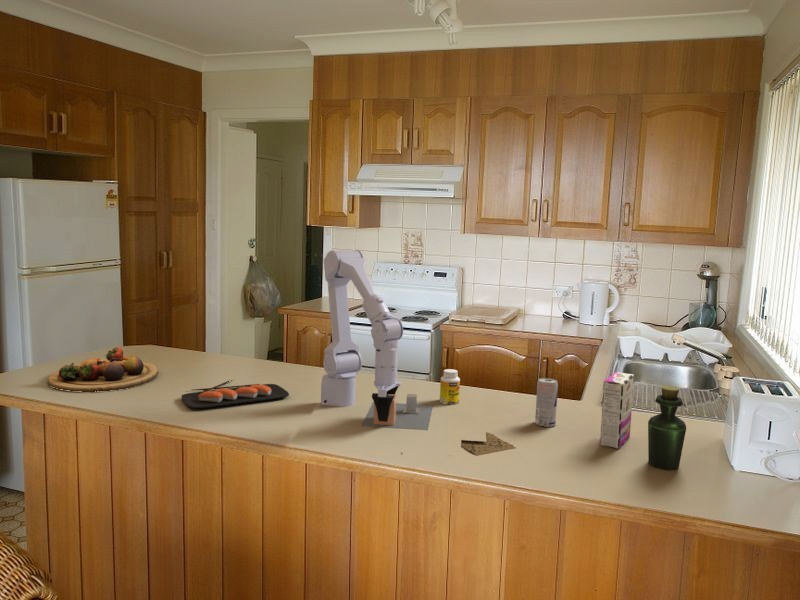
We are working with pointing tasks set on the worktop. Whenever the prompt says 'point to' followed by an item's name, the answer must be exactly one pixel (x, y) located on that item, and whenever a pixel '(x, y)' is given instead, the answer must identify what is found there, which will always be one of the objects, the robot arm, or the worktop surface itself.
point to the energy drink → (546, 402)
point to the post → (411, 404)
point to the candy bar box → (616, 409)
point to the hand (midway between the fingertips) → (384, 416)
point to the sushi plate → (233, 395)
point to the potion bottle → (666, 431)
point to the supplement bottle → (450, 387)
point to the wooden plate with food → (104, 373)
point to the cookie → (486, 445)
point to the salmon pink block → (391, 414)
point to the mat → (403, 418)
